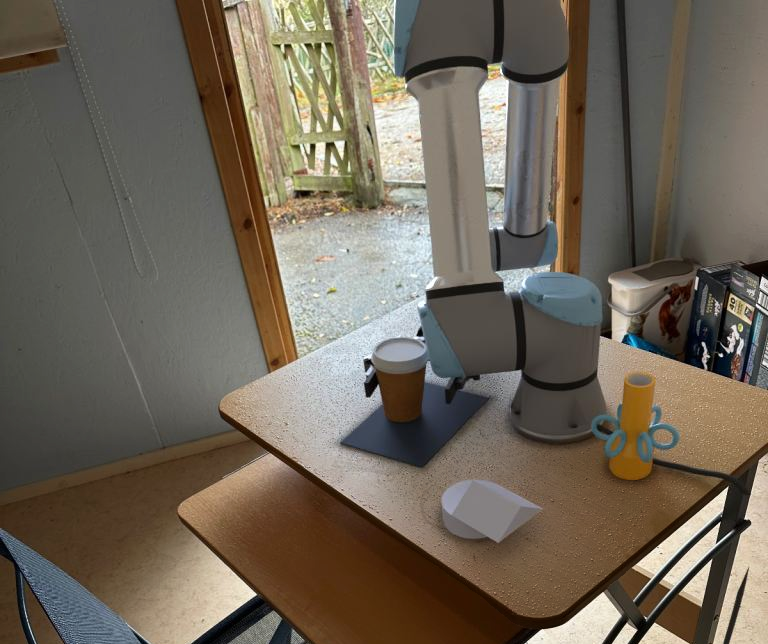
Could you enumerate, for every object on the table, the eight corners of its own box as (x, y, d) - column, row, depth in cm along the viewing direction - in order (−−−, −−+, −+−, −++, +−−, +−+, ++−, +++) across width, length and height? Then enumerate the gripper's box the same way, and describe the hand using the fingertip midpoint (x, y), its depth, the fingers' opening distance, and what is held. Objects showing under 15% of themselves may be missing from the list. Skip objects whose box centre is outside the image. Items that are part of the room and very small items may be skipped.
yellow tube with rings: (582, 451, 119) (587, 364, 109) (648, 440, 119) (659, 352, 109) (609, 499, 109) (617, 409, 100) (681, 487, 109) (696, 396, 100)
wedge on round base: (542, 527, 106) (473, 489, 114) (543, 489, 102) (471, 452, 110) (498, 561, 102) (430, 519, 110) (497, 523, 98) (426, 482, 106)
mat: (489, 398, 133) (489, 397, 133) (422, 468, 120) (422, 467, 120) (411, 379, 141) (411, 378, 141) (340, 443, 128) (339, 442, 128)
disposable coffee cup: (426, 429, 128) (424, 364, 120) (370, 426, 129) (364, 361, 122) (434, 399, 135) (433, 336, 127) (381, 397, 136) (376, 334, 129)
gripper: (511, 353, 137) (483, 419, 122) (379, 346, 145) (338, 407, 130) (510, 314, 132) (482, 378, 117) (374, 308, 140) (331, 367, 125)
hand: (406, 393), depth 124 cm, fingers open, 13 cm apart
